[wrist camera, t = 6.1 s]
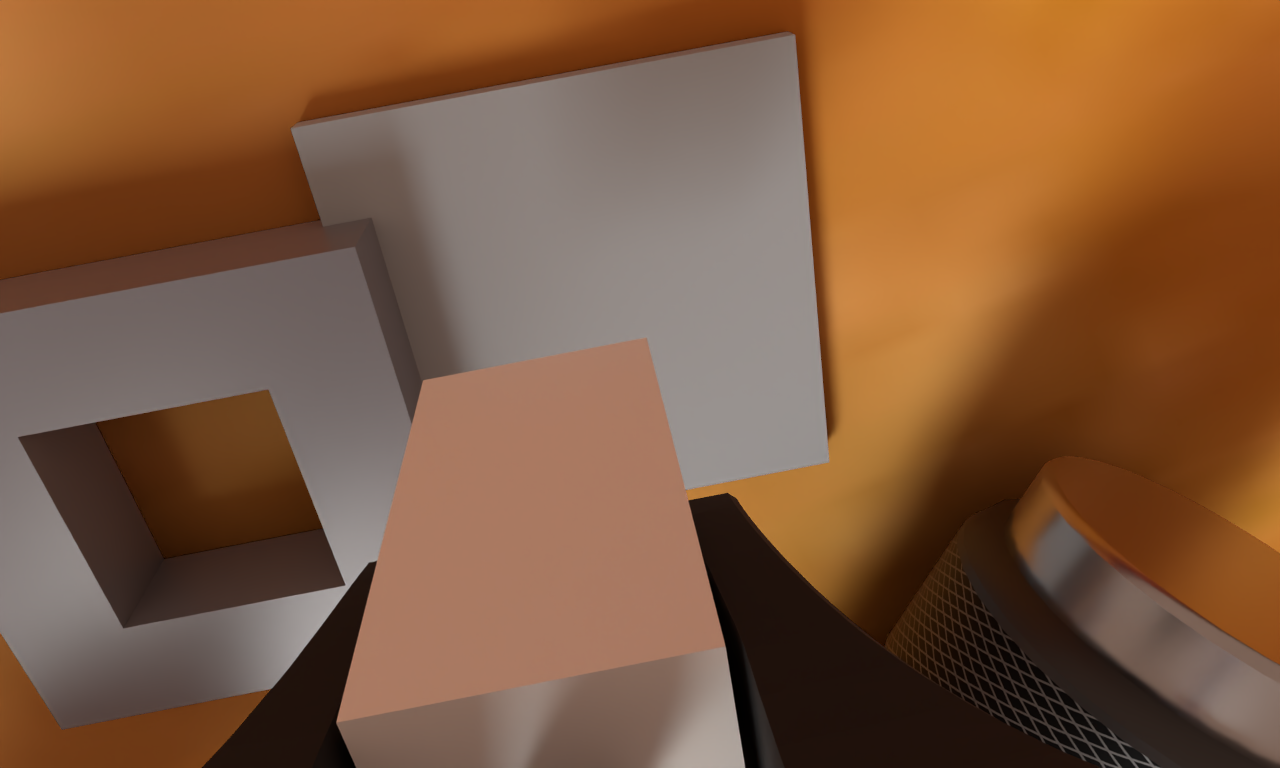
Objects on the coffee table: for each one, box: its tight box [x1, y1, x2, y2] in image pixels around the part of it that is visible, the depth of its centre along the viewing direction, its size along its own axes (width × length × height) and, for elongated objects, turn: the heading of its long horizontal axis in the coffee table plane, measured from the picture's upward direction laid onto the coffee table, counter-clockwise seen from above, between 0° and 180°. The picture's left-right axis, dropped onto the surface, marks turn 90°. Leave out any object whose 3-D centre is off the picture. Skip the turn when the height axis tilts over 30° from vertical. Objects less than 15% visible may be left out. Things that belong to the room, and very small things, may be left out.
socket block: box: [0, 218, 422, 730], centre depth 20 cm, size 10×10×2 cm
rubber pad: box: [290, 31, 829, 490], centre depth 21 cm, size 10×10×1 cm
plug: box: [336, 337, 745, 768], centre depth 12 cm, size 4×4×8 cm
